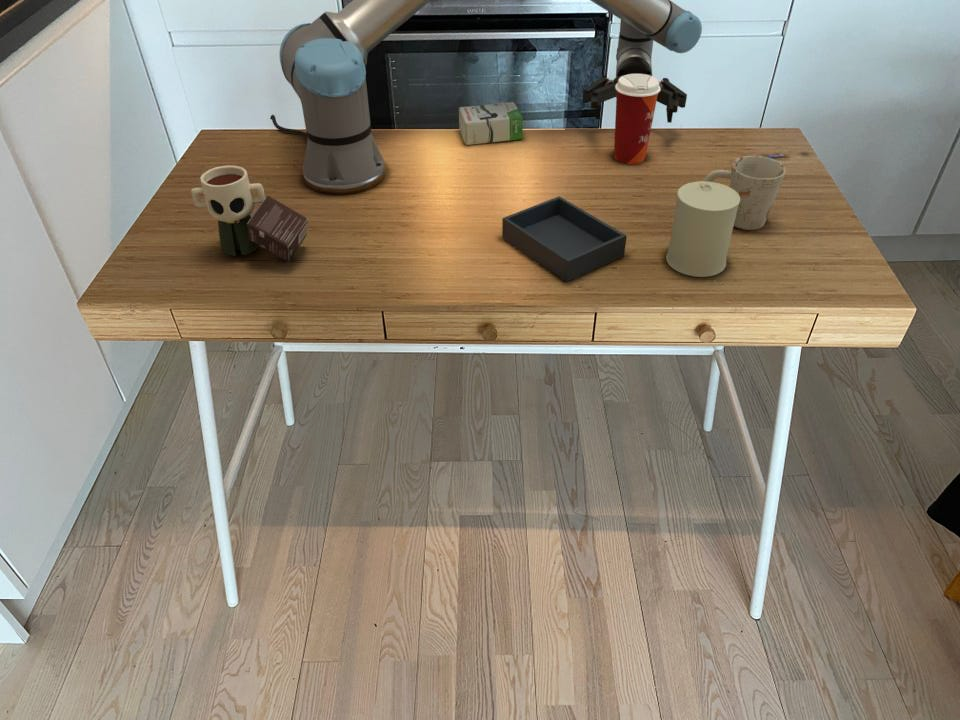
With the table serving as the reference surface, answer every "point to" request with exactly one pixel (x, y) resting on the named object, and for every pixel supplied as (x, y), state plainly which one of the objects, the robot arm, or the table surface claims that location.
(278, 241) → the box
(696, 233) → the can
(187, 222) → the table surface
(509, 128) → the ink box
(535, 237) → the tray
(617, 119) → the coffee cup
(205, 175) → the character mug
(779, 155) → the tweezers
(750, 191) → the mug
